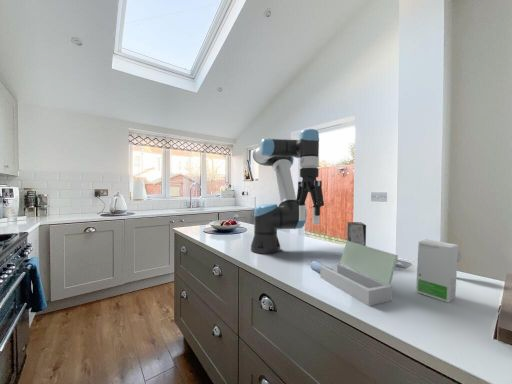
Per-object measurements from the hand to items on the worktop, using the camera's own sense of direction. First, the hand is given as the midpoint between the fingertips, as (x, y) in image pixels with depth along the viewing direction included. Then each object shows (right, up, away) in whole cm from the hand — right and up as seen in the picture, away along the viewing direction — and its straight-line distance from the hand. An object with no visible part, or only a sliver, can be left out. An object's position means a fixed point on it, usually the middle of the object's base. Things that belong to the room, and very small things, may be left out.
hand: (308, 222), depth 97 cm
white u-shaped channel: (+8, -18, -22) cm, 30 cm away
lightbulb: (+48, -18, -13) cm, 52 cm away
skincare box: (+32, -18, -27) cm, 46 cm away
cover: (+14, -10, -20) cm, 26 cm away
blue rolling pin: (+3, -18, -9) cm, 20 cm away
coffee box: (+23, -18, +8) cm, 30 cm away
